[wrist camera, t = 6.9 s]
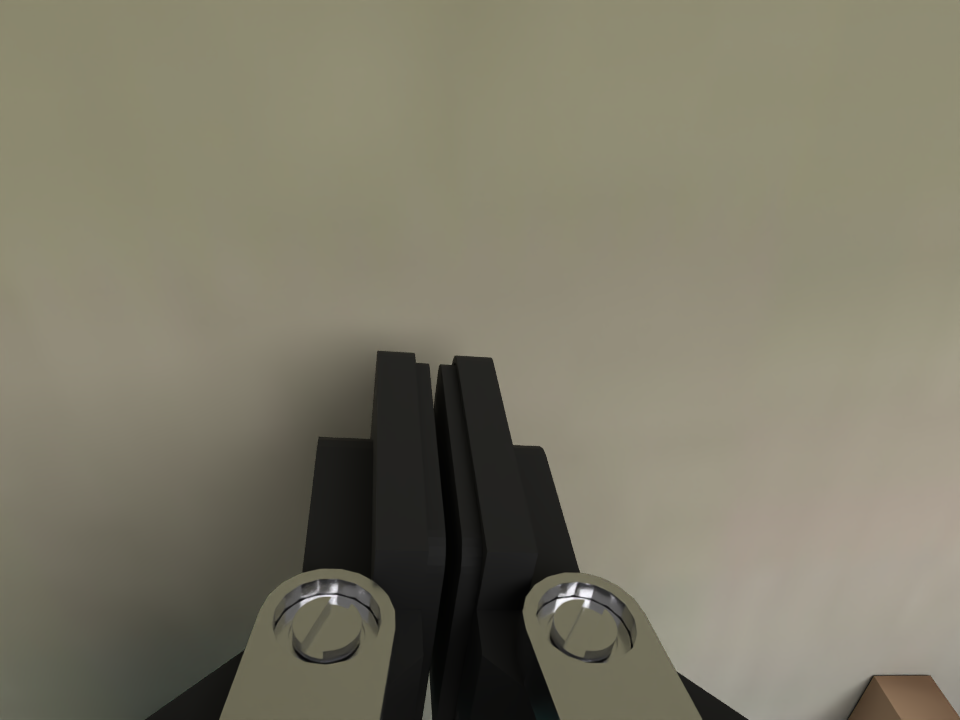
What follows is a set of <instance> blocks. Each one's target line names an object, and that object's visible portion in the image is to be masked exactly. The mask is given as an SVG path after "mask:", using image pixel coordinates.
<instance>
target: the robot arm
mask: <svg viewBox="0 0 960 720" xmlns="http://www.w3.org/2000/svg"><path fill="white" fill-rule="evenodd" d="M429 672H430V689H431V706H432V720H748V719H747V718H745V717H744V716H742V715H741V714H739V713H738V712H736V711H735V710H733V709H732V708H730V707H729V706H727V705H726V704H724V703H723V702H721V701H720V700H718V699H717V698H715V697H714V696H712V695H711V694H709V693H708V692H706V691H705V690H703V689H702V688H700V687H699V686H697V685H696V684H694V683H693V682H691V681H690V680H688V679H687V678H686V677H684V676H683V675H681V674H680V673H678V672H677V671H676V670H675V668H674V666H673V665H672V663H671V661H670V659H669V657H668V655H667V653H666V652H665V650H664V648H663V646H662V644H661V642H660V641H659V639H658V637H657V635H656V633H655V631H654V630H653V628H652V626H651V624H650V622H649V620H648V618H647V617H646V615H645V613H644V612H643V610H642V609H641V608H640V606H639V605H638V604H637V602H636V601H635V600H634V598H632V597H631V596H630V595H629V594H628V593H626V592H625V591H624V590H623V589H621V588H620V587H619V586H617V585H615V584H613V583H611V582H609V581H607V580H605V579H603V578H601V577H597V576H593V575H589V574H585V573H580V571H579V568H578V565H577V561H576V558H575V554H574V551H573V547H572V544H571V540H570V537H569V533H568V530H567V527H566V523H565V520H564V516H563V513H562V509H561V506H560V502H559V499H558V495H557V492H556V488H555V485H554V482H553V478H552V475H551V471H550V468H549V464H548V461H547V457H546V454H545V452H544V450H543V448H541V447H540V446H520V445H513V444H512V439H511V435H510V431H509V427H508V422H507V418H506V414H505V410H504V405H503V401H502V397H501V393H500V388H499V384H498V380H497V376H496V371H495V367H494V363H493V360H492V358H487V357H470V356H454V359H453V362H452V365H442V364H440V366H439V370H438V377H437V385H436V393H435V401H434V409H433V399H432V389H431V378H430V368H429V364H425V363H416V359H415V353H404V352H388V351H378V352H377V361H376V374H375V387H374V400H373V413H372V426H371V439H355V438H332V437H319V439H318V445H317V454H316V462H315V470H314V479H313V487H312V496H311V504H310V513H309V521H308V530H307V538H306V547H305V555H304V564H303V572H302V573H300V574H298V575H296V576H294V577H292V578H290V579H288V580H286V581H284V582H282V583H281V584H280V585H279V586H278V587H277V588H276V589H275V590H273V591H272V592H271V593H270V594H269V595H268V597H267V598H266V600H265V602H264V604H263V605H262V607H261V609H260V610H259V613H258V616H257V618H256V621H255V624H254V627H253V629H252V632H251V635H250V637H249V640H248V643H247V646H246V648H245V650H244V651H242V652H241V653H240V654H238V655H237V656H235V657H234V658H232V659H231V660H230V661H228V662H227V663H225V664H224V665H222V666H221V667H220V668H218V669H217V670H215V671H214V672H212V673H211V674H210V675H208V676H207V677H205V678H204V679H203V680H201V681H200V682H198V683H197V684H195V685H194V686H193V687H191V688H190V689H188V690H187V691H185V692H184V693H183V694H181V695H180V696H178V697H177V698H175V699H174V700H173V701H171V702H170V703H168V704H167V705H165V706H164V707H163V708H161V709H160V710H158V711H157V712H155V713H154V714H153V715H151V716H150V717H148V718H147V719H146V720H422V716H423V710H424V703H425V696H426V690H427V683H428V677H429Z"/></svg>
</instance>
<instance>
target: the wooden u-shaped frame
mask: <svg viewBox="0 0 960 720" xmlns="http://www.w3.org/2000/svg"><path fill="white" fill-rule="evenodd" d="M848 720H960V717H959V716H958V714H957V713H956V712H955V710H954V709H953V707H952V706H951V704H950V703H949V702H948V700H947V699H946V697H945V696H944V694H943V693H942V692H941V690H940V689H939V687H938V686H937V684H936V683H935V681H934V680H933V679H932V677H931V676H874V677H873V678H872V680H871V682H870V683H869V685H868V687H867V689H866V690H865V692H864V694H863V695H862V697H861V699H860V700H859V702H858V704H857V705H856V707H855V709H854V711H853V712H852V714H851V716H850V717H849V719H848Z"/></svg>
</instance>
